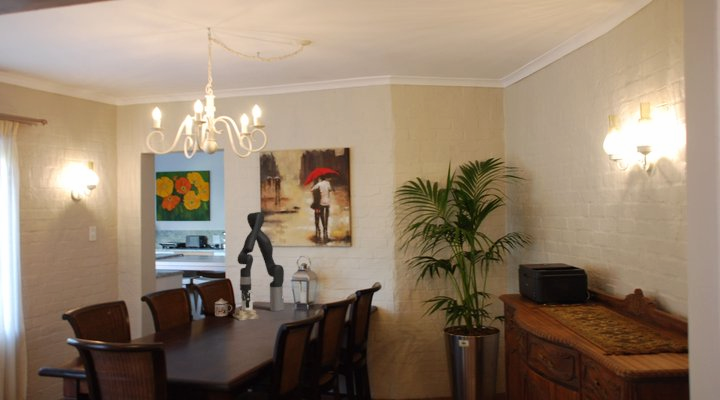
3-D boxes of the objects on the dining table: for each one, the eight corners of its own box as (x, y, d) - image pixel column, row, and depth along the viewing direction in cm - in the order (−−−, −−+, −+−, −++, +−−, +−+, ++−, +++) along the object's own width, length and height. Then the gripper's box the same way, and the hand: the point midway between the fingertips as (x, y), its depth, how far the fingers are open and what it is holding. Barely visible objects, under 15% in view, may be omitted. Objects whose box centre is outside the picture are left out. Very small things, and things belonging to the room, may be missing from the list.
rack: (252, 314, 396) (252, 307, 396) (259, 318, 381) (259, 310, 381) (232, 316, 390) (232, 309, 390) (239, 320, 375) (238, 312, 375)
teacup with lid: (213, 316, 389) (213, 299, 390) (216, 314, 398) (215, 297, 399) (231, 316, 390) (230, 299, 390) (233, 313, 399) (232, 297, 400)
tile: (251, 314, 388) (251, 299, 389) (252, 314, 386) (252, 300, 386) (241, 315, 385) (241, 300, 386) (242, 315, 383) (242, 301, 383)
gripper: (253, 283, 381) (254, 307, 381) (248, 281, 394) (248, 304, 394) (242, 284, 378) (243, 308, 377) (237, 282, 391) (237, 305, 390)
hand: (245, 306), depth 386 cm, fingers open, 8 cm apart
